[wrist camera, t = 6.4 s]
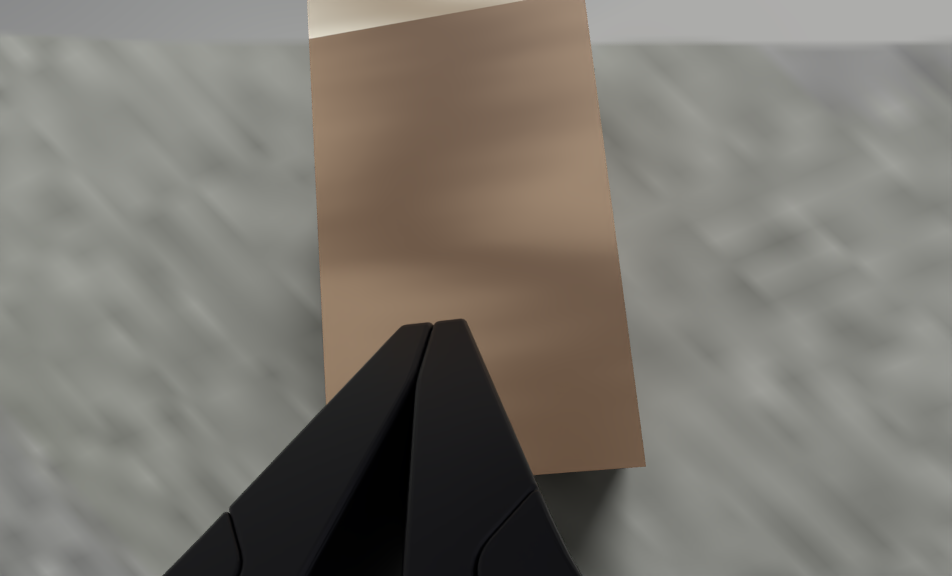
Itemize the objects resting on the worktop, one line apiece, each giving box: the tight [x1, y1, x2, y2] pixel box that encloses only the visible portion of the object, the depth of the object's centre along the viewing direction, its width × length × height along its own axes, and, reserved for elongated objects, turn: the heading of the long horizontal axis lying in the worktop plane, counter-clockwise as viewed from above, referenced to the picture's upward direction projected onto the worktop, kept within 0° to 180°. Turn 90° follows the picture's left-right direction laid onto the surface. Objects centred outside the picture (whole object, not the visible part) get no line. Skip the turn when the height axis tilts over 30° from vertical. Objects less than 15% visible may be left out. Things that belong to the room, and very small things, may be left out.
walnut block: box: [307, 0, 646, 475], centre depth 14 cm, size 5×5×9 cm
